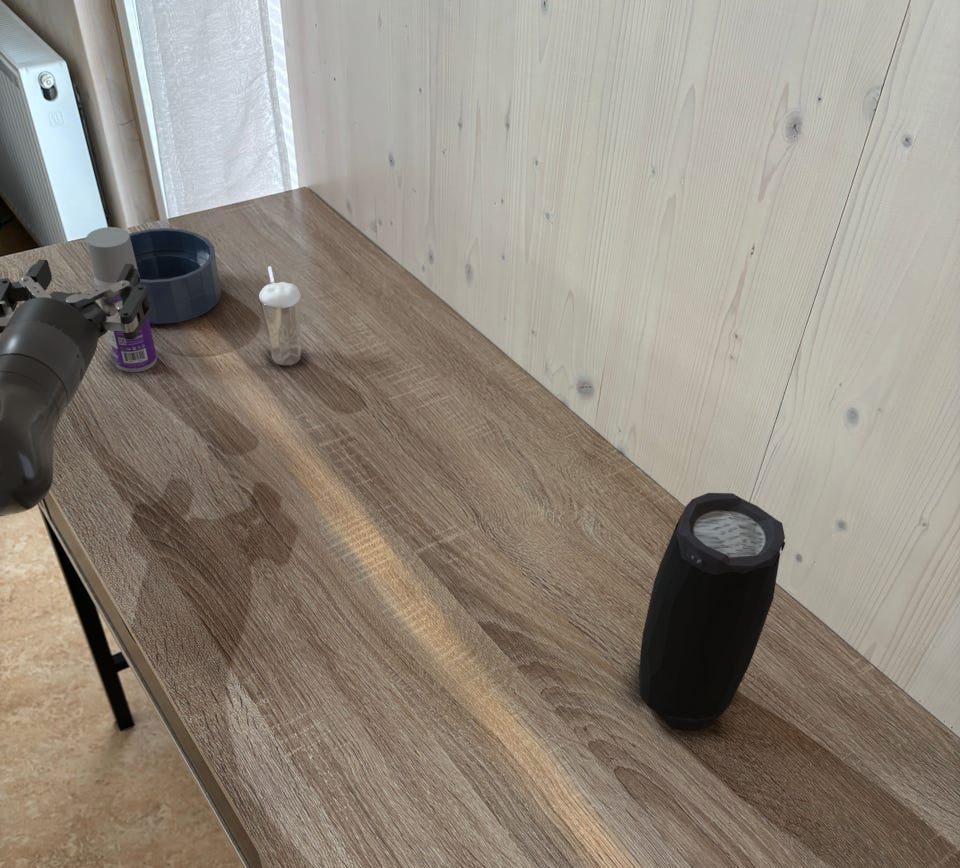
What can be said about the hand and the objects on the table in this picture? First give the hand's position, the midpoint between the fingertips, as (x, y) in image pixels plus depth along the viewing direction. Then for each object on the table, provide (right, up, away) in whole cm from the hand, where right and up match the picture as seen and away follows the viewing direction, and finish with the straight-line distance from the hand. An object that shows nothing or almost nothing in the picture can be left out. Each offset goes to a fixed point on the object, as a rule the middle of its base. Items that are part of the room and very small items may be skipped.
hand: (88, 270), depth 105 cm
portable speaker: (+57, -42, -15) cm, 72 cm away
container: (0, -5, +16) cm, 17 cm away
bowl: (0, +5, +25) cm, 26 cm away
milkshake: (+16, -4, +18) cm, 25 cm away
